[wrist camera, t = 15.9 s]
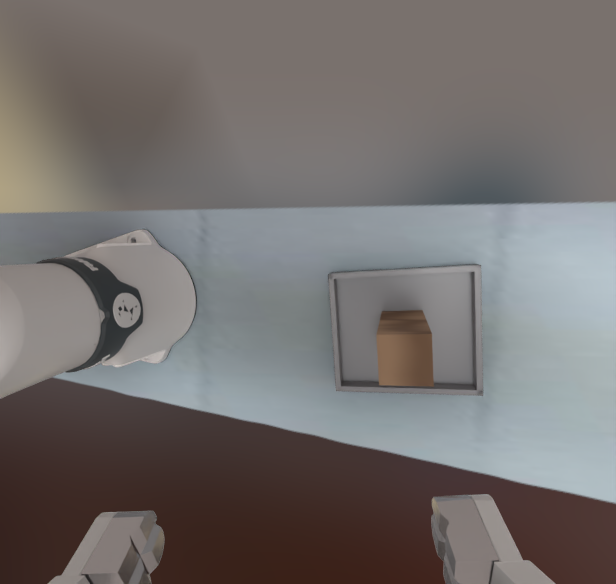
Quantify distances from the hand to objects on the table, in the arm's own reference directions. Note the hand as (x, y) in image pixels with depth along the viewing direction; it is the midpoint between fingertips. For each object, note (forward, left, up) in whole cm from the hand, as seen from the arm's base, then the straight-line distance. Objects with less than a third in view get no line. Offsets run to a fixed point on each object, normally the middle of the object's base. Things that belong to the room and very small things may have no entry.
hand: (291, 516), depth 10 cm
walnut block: (+4, -2, -32) cm, 32 cm away
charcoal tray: (+4, -2, -32) cm, 33 cm away
